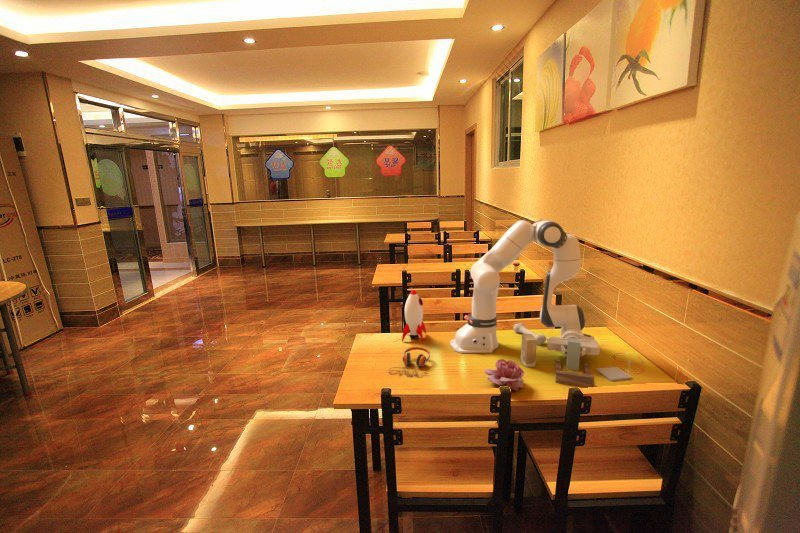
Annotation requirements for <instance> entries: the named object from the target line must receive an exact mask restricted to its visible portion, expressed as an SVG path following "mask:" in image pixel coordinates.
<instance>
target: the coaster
mask: <svg viewBox="0 0 800 533" xmlns="http://www.w3.org/2000/svg"><path fill="white" fill-rule="evenodd" d="M595 371H596V372H597V373H598V374H600V375H601V376H603V377H604V378H605V379H607V380H608V381H610V382H616V381H624V380H632V379H633V376H632V375H630V374H629V373H627V372H625V371H624V370H622V369H621V368H619V367H618V366H608V367H607V366H606V367H599V368H595Z"/></svg>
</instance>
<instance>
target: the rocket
mask: <svg viewBox="0 0 800 533" xmlns="http://www.w3.org/2000/svg"><path fill="white" fill-rule="evenodd" d="M423 305H424V302H423V299H422V298H421V297H420V296H419V294H418V293H417V291H416V290H415V289H412V290H411V291H410V293H409V295H408V297H407V299H406V302H405V305H404V320H405V323H406V324H405V326H404V329H403V332H402V336H401V342H403V341H404V340H405V338H406V336H407V335H408V334H409V338H411V339H418V338H419V337H420V339H421V342H422V343H424V336H423V333H424V334H425V335H426V334H427V329H426V325H425V323H424V321H423V319H424V318H423V317H424V308H423V307H424V306H423Z"/></svg>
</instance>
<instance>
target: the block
mask: <svg viewBox="0 0 800 533" xmlns="http://www.w3.org/2000/svg"><path fill="white" fill-rule="evenodd" d="M580 345H581V342H580V339H578V338H568V346H567V350H568V352H567V354H566V365H565V367H566V370H570V371H578V372H579V369H580V358H581V356H580Z"/></svg>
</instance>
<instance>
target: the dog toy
mask: <svg viewBox="0 0 800 533" xmlns="http://www.w3.org/2000/svg"><path fill="white" fill-rule="evenodd" d="M513 331H514V332H515V333H519V334H520V333H521V334H522V335H523V334H532V335H533V336H534V337H535V338H536V339H537V346H542V345H543V344H545V343H546V342H547V336H545V335H544V334H541V333H540V334H537V333H535V332H533V331H531V330H529V329H528V328H526V327H525V324H524V323H523V322H520V323H516V324H514V325H513Z"/></svg>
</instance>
